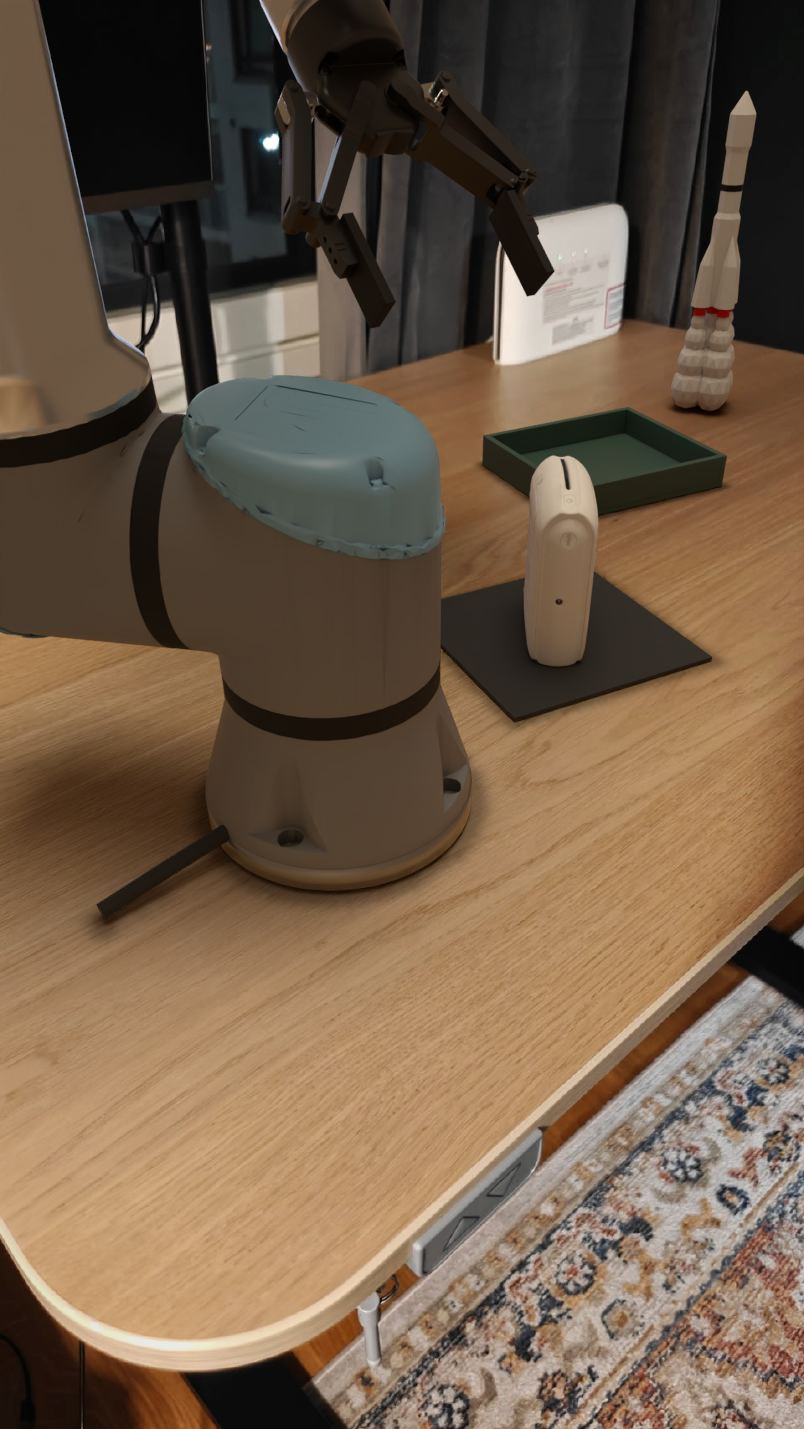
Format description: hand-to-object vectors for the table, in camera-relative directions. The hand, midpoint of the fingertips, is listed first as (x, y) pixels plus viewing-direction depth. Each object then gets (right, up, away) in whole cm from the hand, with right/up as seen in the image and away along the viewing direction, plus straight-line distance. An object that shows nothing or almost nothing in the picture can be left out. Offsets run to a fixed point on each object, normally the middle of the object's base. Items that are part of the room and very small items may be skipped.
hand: (465, 299), depth 69 cm
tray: (+15, -5, +29) cm, 33 cm away
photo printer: (+7, -22, +6) cm, 24 cm away
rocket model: (+29, +6, +45) cm, 54 cm away
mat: (+7, -22, +6) cm, 24 cm away
